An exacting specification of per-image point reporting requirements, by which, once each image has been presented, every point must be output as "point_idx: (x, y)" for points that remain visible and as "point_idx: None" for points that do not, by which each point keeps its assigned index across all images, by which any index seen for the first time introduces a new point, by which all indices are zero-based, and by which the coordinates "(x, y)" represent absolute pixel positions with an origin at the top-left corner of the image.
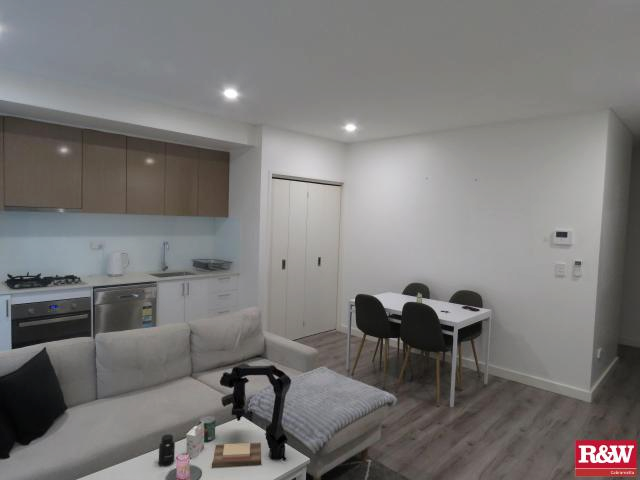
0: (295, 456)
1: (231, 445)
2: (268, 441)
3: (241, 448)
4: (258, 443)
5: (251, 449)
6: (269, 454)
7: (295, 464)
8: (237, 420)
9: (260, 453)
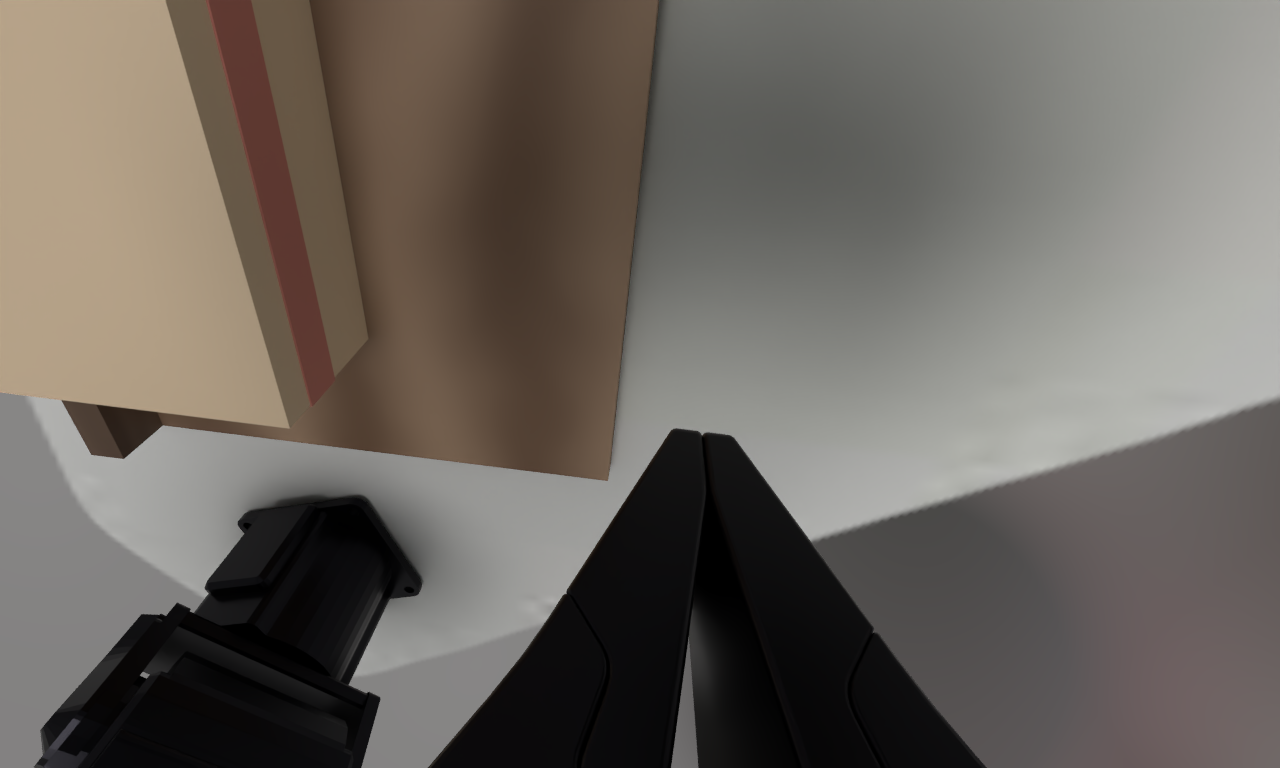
0: (378, 650)
1: (116, 80)
2: (98, 687)
3: (69, 280)
4: (590, 456)
5: (455, 367)
6: (286, 530)
7: None
8: (668, 437)
9: (367, 445)
